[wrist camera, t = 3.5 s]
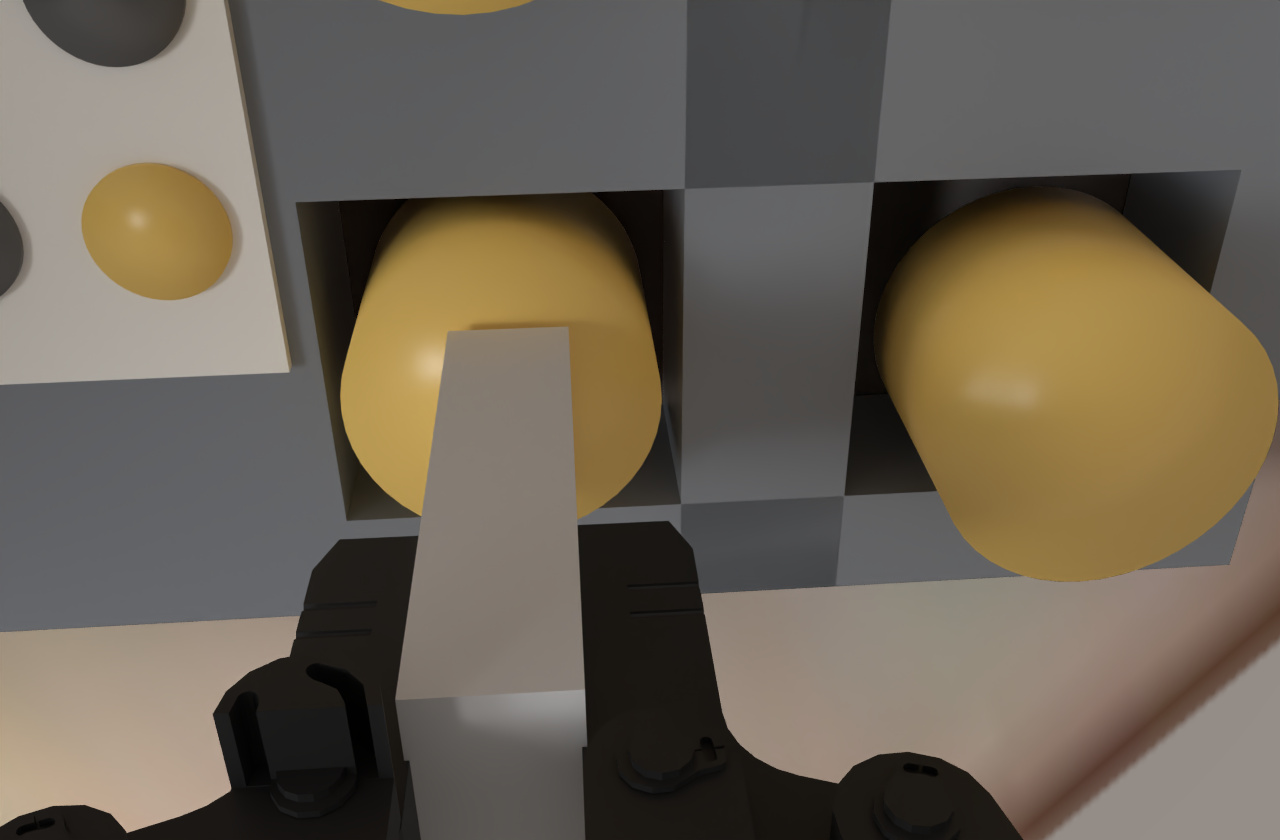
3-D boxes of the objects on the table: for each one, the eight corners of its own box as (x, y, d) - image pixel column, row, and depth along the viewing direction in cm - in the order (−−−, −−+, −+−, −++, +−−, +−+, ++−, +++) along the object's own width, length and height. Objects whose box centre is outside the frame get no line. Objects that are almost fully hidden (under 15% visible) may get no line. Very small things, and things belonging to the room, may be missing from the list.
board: (33, 520, 21) (-44, 648, 18) (-362, -703, 13) (-609, -809, 10) (1149, 464, 23) (1238, 577, 20) (1432, -684, 14) (1656, -776, 11)
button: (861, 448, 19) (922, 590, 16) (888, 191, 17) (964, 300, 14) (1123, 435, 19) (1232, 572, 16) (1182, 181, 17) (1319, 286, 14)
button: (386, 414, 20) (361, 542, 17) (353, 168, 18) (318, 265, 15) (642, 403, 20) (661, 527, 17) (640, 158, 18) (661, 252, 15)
